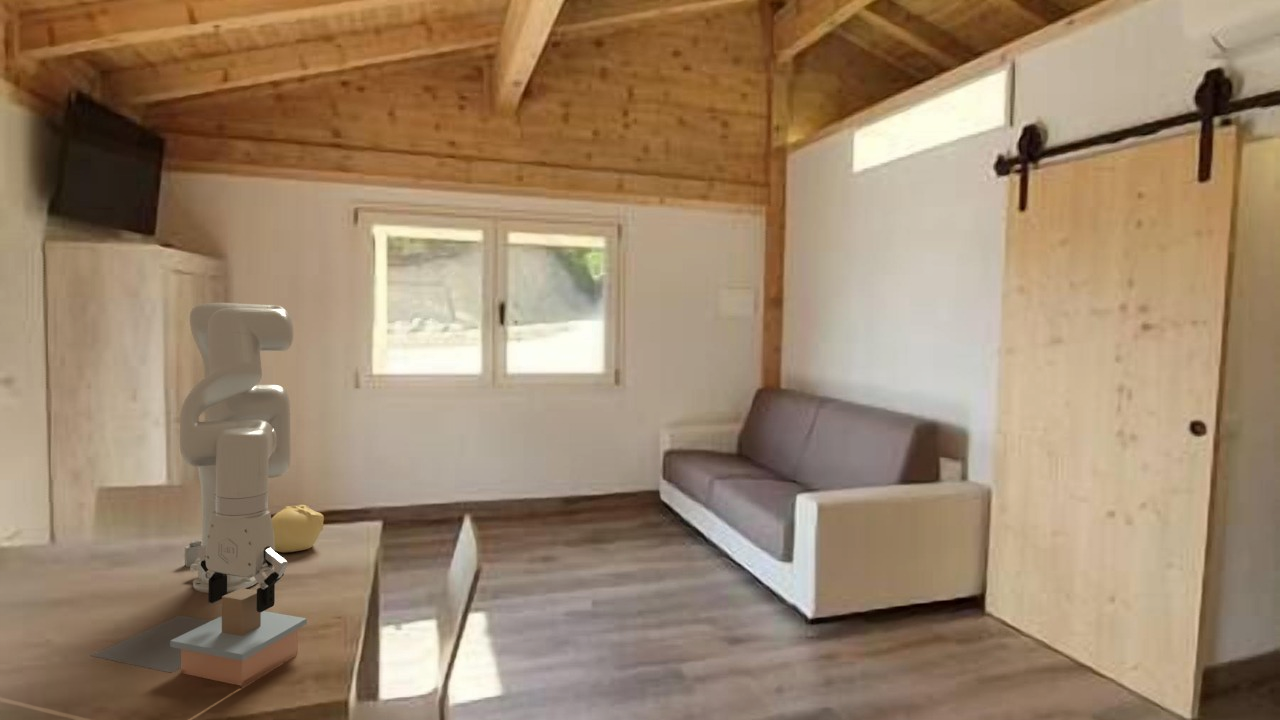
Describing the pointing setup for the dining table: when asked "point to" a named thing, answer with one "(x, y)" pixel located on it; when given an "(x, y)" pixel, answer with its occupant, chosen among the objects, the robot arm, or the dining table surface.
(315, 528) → the sculpture
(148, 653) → the mat
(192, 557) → the lighter
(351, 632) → the dining table surface
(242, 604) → the lid
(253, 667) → the peach open tray
